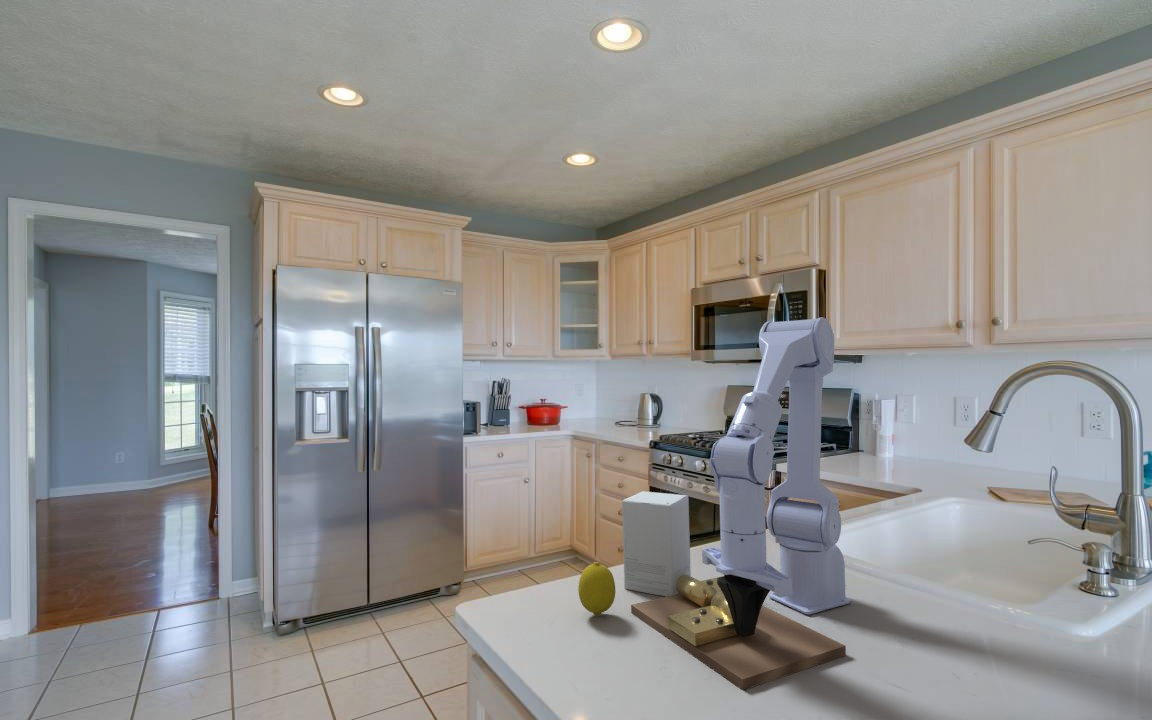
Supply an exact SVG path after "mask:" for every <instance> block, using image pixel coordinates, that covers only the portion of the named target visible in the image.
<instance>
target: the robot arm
mask: <svg viewBox="0 0 1152 720" xmlns="http://www.w3.org/2000/svg"><path fill="white" fill-rule="evenodd" d="M758 346H759V351H760V356H761V358H762V359H761V361H760V364H759V365H760V366H759V369H758V373H757V376H756V378H755V379H756V380H755V383H754V387H753V391H751V392H747V393H746V394H744V395H743V396H742V397H741V399H740V402H739V404H738V407H737V409H736V411H735V414H734V416H733V419H732V421H731V423H730V425H729V428H728V431H727V433H726V435H725V436H722V437H721V438H720V439H717V440H716V441H715V443H713V445H712V447H711V451H710V453H711V454H710V458H709V467H710V470H711V473H712V476H713V478H714V488H715V491H716V492H717V493H719V527H720V531H719V532H720V533H719V534H720V549H719V548H716V547H715V546H714V547H713V546H712V547H707V548H702V549H701V550H702V554H701V555H702V564H705V565H707V566H708V565H713V566H714V567H715V571H716V572H717V573H720V574H721V575H722V576H723V577H722V576H718V577H719V578H717V577H716V578H717V584H718V586H719V587H720V589H721V591H722V593H723V594H724V597H725V599H726V601H727V604H728V606H729V609H730V613H731V616H732V620H733V624H734V627H735V631H736V634H738V635H739V636H741V637H747V636H750V635H754V633H755V628H756V624H757V620H758V616H759V613H760V610H761V607H762V606H764V605H763V604H764V603H765V601H766V599H767V596H768V597H769V598H770V599H772V600H774V601H777V602H779V603H781V604H783V605H785V606H787V607H790V608H792V609H794V610H796V611H798V612H801V613H803V614H804V615H811V614H816V613H819V612H824V611H826V610H829V609H834V608H837V607H840V606H845V605H847V604H848V605H849V604H850V603H851V599H850V598H847V597H846V567H845V566H846V565H845V563H846V562H845V558H844V555H843V552H842V550H841V549H840V548H839V547H838V545H837V543H838V542H839V540H840V536H841V532H842V531H841V530H842V518H841V514H840V501H839V498H838V496H837V495H836V494H835V493H834V492H833V491H832V490H831V489H829V488H828V487H827V486H826V485H824V483H823V482H821V481H820V480H821V445H822V443H821V442H822V439H821V438H822V410H823V409H822V407H823V406H822V404H823V397H822V396H823V383H824V382H823V381H824V377H825V376H827V375H829V374H831V373H832V372H833V370H834V364H835V363H834V361H835V336H834V332H833V328H832V325H831V323H830V321H828V320H827V319H826V318H825V317H818V318H813V319H812V318H809V319H799V320H785V321H784V320H783V321H771V320H770V321H769V320H768V321H766V322H764V324H762V326H761V328H760V330H759V335H758ZM788 382H789V393H788V395H789V396H788V420H787V421H788V428H787V452H786V455H787V457H786V480H784V481H783V482H781V483H780V484H778V485H776V486H775V487H774V488H773V489H772V490H771V493H770V499H769V505H768V507H767V510H766V500H765V499H766V498H765V497H766V493H765V490H766V487H765V486H766V485H765V484H766V482H767V481H768V479H769V478H770V476H771V473H772V471H773V470H772V469H773V463H774V462H773V461H774V460H773V459H774V457H773V456H774V455H773V454H774V452H775V450H774V448H775V445H774V444H773V440H774V436H775V435H776V432H777V430H778V429H777V428H778V425H779V423H780V421H781V417H782V414H783V407H782V405H781V404H780V402H779V400H780V398H781V395H782V394H783V391H784V389H785V387H786V385H787V383H788ZM790 498H791V499H790ZM793 499H798V500H793ZM801 500H807V501H809V502H807V501H801ZM810 501H812V502H810ZM813 501H814V502H813ZM766 525H767V526H766ZM766 527H767V529H766ZM766 530H768V531H769V533H770V534H771V536H772V537H774V540H775V541H774V542H775V544H779V568H780V569H779V570H778V569H776V568H775V567H773V565H771V564H769V563H768V561H767V532H766ZM770 591H771V592H770Z"/></svg>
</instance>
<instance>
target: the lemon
mask: <svg viewBox="0 0 1152 720" xmlns="http://www.w3.org/2000/svg"><path fill="white" fill-rule="evenodd" d="M577 587H578V590H577V591H578V597H579V601H580V604H582V606H583V608H584V609H585V610H586V611H588V612H590V613H592V614H593V616H595V617H599V616H600V615H602V613H605V612H606V611H608V610H609V609H610V608H611V607H612V605H613V603H614V601H615V598H616V582H615V579H614V575H613V573H612V571H611V570H610V569H609V568H608V567H607V566H606V565H603V564H602V563H600V562H598V561H593V563H591V564H589V565H587V566H586V568H584V569H583V571H582V572H581V574H580V577H579V581H578V586H577Z"/></svg>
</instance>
